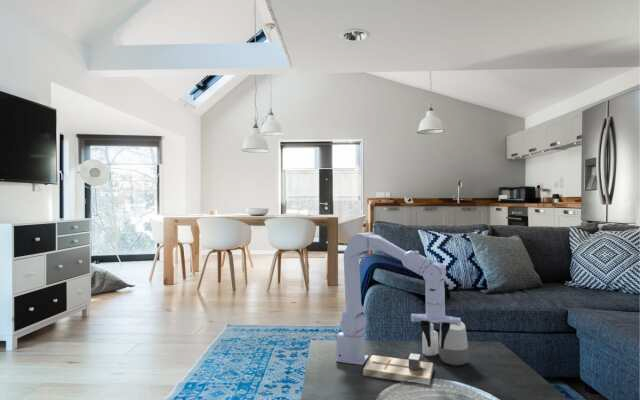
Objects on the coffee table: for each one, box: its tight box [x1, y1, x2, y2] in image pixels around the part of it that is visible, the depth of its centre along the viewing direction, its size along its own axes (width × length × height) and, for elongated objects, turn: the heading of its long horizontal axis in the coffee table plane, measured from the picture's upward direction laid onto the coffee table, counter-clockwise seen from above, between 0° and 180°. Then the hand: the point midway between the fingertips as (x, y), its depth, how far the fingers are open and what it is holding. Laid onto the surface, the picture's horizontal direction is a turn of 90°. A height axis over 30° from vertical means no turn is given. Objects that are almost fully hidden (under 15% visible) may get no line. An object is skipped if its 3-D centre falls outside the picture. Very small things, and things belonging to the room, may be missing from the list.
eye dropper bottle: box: [421, 323, 439, 357], centre depth 138 cm, size 4×6×12 cm
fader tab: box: [407, 352, 421, 371], centre depth 121 cm, size 3×4×3 cm
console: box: [362, 354, 434, 382], centre depth 123 cm, size 20×12×2 cm, turn 69°
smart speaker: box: [438, 321, 469, 367], centre depth 130 cm, size 10×9×14 cm
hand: (435, 346), depth 119 cm, fingers open, 3 cm apart
